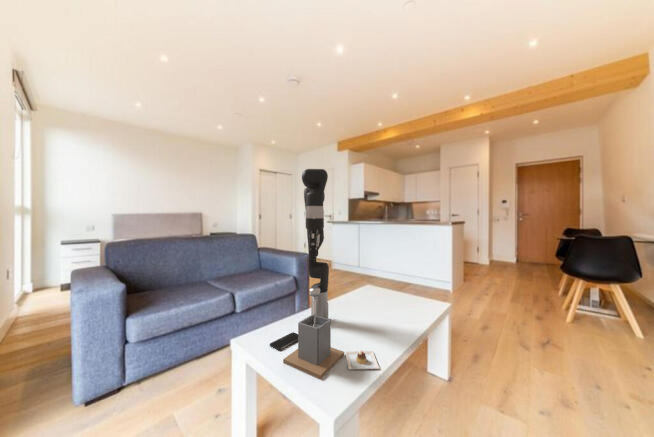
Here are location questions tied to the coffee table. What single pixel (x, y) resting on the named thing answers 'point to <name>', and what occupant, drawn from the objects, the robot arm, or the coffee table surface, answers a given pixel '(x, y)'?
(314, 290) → the plunger
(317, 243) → the robot arm
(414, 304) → the coffee table surface
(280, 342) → the phone
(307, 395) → the coffee table surface
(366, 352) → the dessert
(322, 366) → the grey square holder
